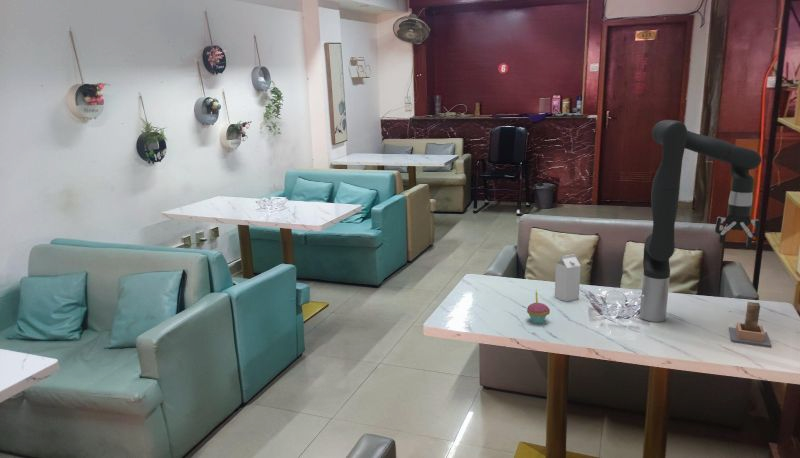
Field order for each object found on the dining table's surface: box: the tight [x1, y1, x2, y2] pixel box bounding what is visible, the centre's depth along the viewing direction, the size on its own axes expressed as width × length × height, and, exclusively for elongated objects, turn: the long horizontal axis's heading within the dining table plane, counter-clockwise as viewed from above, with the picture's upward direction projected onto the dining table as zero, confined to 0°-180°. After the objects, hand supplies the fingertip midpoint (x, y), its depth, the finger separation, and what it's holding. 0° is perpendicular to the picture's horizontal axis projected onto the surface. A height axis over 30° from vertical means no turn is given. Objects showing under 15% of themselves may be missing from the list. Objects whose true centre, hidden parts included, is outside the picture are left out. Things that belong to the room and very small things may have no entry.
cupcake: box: [526, 290, 551, 324], centre depth 229 cm, size 9×8×12 cm
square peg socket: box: [728, 321, 772, 348], centre depth 212 cm, size 12×12×4 cm
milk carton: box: [554, 253, 582, 303], centre depth 251 cm, size 7×7×19 cm
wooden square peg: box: [744, 301, 761, 332], centre depth 211 cm, size 4×4×12 cm
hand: (734, 245), depth 227 cm, fingers open, 8 cm apart
